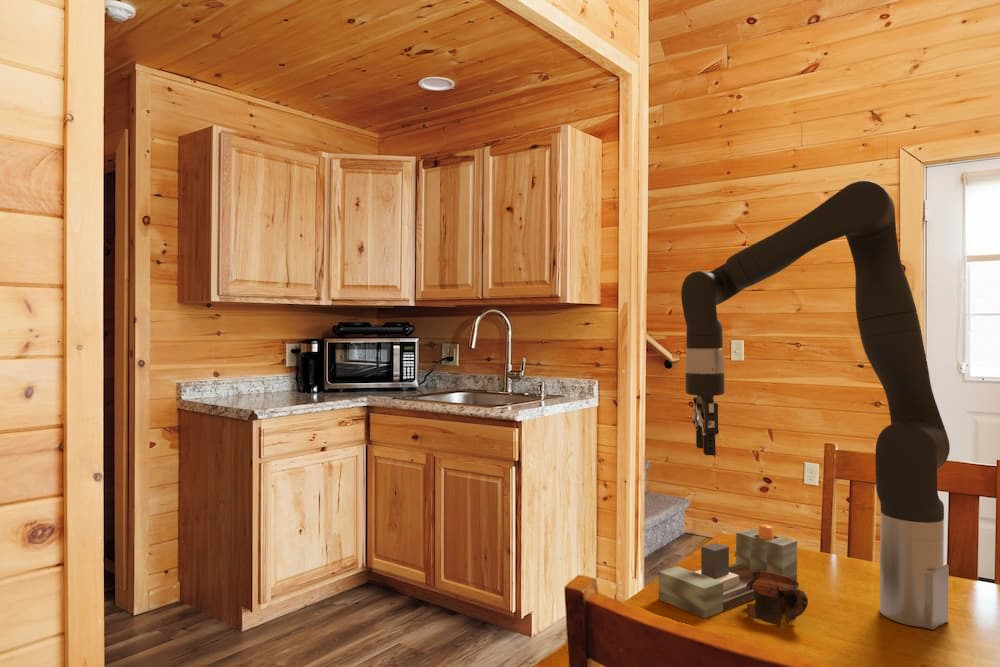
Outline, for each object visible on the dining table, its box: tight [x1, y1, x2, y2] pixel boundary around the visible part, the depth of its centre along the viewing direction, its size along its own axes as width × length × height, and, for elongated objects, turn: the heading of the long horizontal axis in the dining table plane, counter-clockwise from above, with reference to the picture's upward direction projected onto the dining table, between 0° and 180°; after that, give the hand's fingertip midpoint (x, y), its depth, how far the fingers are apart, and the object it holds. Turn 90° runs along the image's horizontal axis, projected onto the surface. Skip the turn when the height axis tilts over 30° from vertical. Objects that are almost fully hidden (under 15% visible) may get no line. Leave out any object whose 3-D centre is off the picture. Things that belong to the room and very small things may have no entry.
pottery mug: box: [746, 571, 809, 626], centre depth 116 cm, size 12×10×8 cm
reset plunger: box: [758, 524, 775, 541], centre depth 134 cm, size 3×3×6 cm
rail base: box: [658, 528, 798, 619], centre depth 128 cm, size 10×28×8 cm, turn 126°
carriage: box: [694, 542, 739, 592], centre depth 125 cm, size 6×6×7 cm
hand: (705, 451), depth 138 cm, fingers open, 8 cm apart
